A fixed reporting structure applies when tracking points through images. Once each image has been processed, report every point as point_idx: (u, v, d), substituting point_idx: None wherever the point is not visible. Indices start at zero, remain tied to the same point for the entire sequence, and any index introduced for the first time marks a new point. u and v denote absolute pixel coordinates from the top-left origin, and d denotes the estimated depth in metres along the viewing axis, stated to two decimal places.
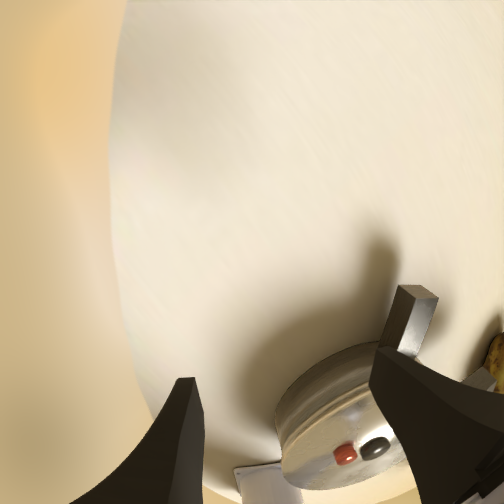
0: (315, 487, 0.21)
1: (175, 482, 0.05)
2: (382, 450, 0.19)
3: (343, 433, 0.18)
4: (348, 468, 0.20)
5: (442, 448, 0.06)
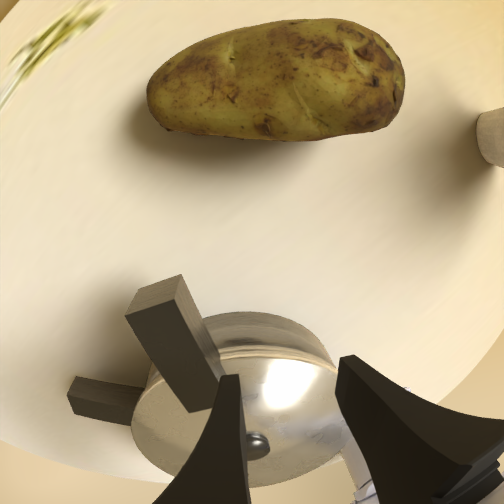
0: (323, 460, 0.19)
1: (245, 480, 0.05)
2: (251, 447, 0.16)
3: None
4: (290, 450, 0.18)
5: (400, 469, 0.05)
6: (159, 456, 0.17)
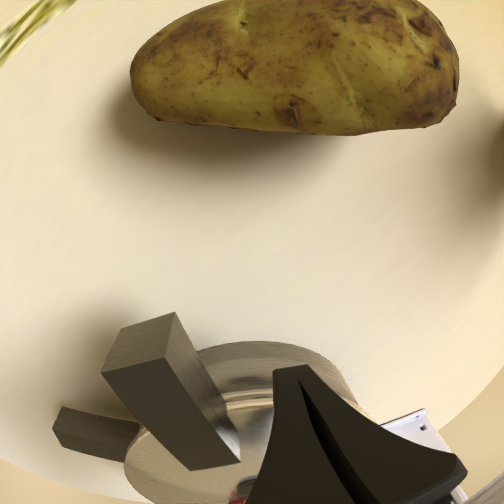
0: None
1: None
2: None
3: None
4: None
5: None
6: (157, 495, 0.13)
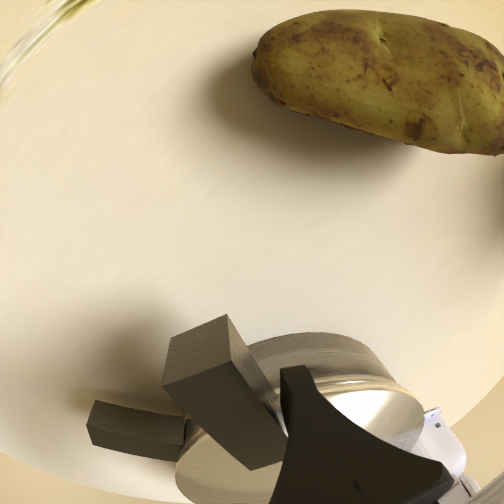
0: None
1: None
2: None
3: None
4: None
5: None
6: (208, 500, 0.14)
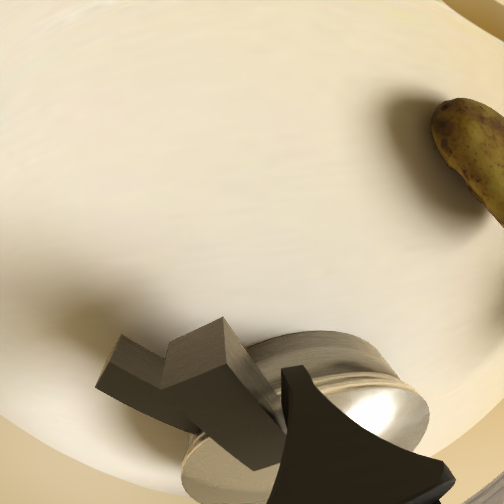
0: None
1: None
2: None
3: None
4: None
5: None
6: (215, 501, 0.14)
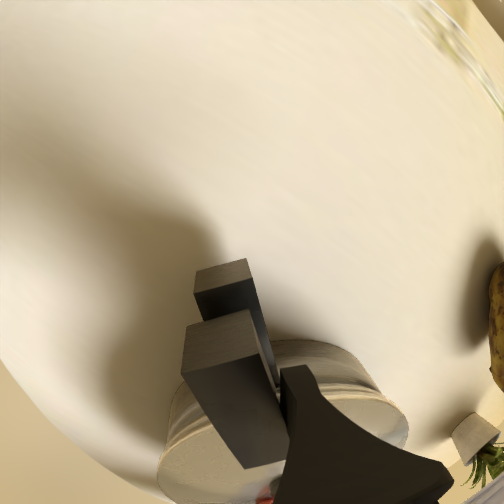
0: None
1: None
2: None
3: None
4: None
5: None
6: (185, 497, 0.14)
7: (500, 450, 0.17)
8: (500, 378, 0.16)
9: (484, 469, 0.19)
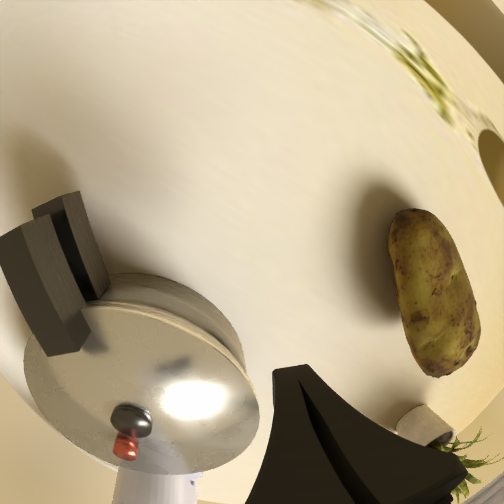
0: (227, 456, 0.18)
1: None
2: (129, 420, 0.15)
3: (97, 441, 0.16)
4: (182, 436, 0.16)
5: None
6: (55, 416, 0.15)
7: None
8: (416, 355, 0.18)
9: None
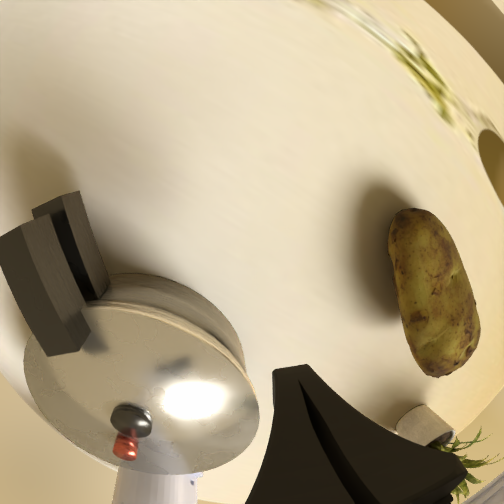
0: (227, 456, 0.18)
1: None
2: (129, 420, 0.15)
3: (97, 441, 0.16)
4: (182, 436, 0.16)
5: None
6: (55, 416, 0.15)
7: None
8: (416, 355, 0.18)
9: None
